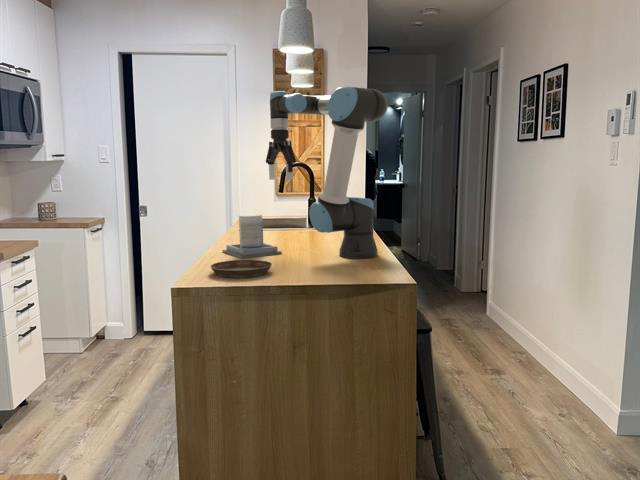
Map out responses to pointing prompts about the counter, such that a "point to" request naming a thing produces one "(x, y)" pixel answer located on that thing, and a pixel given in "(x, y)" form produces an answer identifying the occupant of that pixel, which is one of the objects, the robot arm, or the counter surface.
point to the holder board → (251, 251)
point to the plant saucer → (241, 268)
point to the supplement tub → (251, 231)
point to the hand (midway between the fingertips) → (280, 179)
